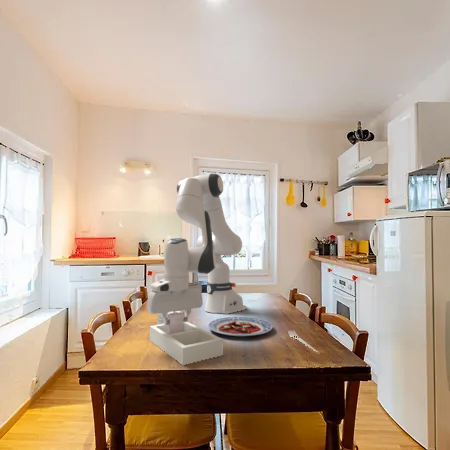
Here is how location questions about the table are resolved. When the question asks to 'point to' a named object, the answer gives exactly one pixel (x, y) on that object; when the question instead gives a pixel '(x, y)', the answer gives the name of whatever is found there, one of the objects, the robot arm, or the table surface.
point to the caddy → (187, 343)
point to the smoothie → (175, 321)
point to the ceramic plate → (240, 326)
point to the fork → (301, 340)
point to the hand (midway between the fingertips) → (175, 323)
